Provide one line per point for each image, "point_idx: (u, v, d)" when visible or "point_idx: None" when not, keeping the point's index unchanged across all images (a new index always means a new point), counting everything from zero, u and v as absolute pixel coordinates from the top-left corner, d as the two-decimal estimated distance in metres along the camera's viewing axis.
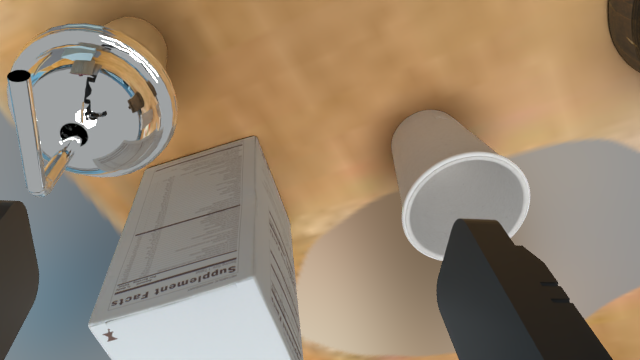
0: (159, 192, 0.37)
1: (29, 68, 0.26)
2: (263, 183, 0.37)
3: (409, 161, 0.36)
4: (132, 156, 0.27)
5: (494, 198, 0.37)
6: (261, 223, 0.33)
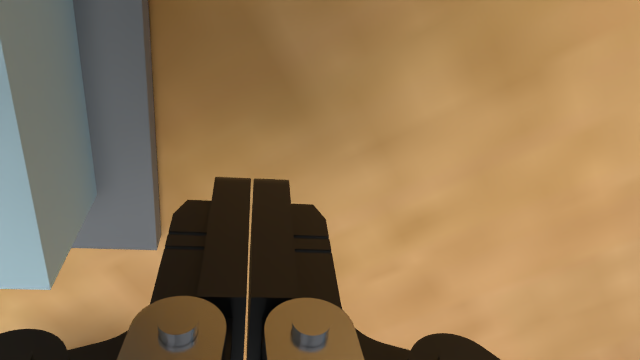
0: None
1: None
2: None
3: None
4: None
5: None
6: None
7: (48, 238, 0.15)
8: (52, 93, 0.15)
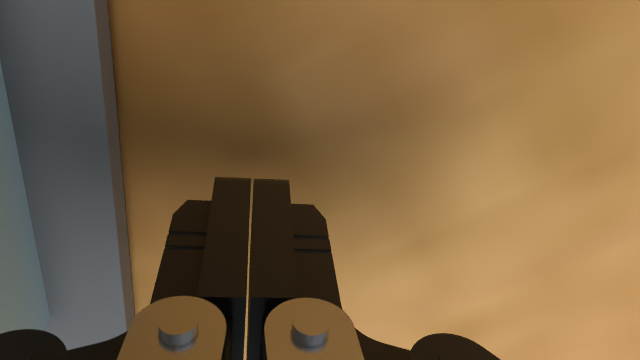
0: None
1: None
2: None
3: None
4: None
5: None
6: None
7: None
8: None
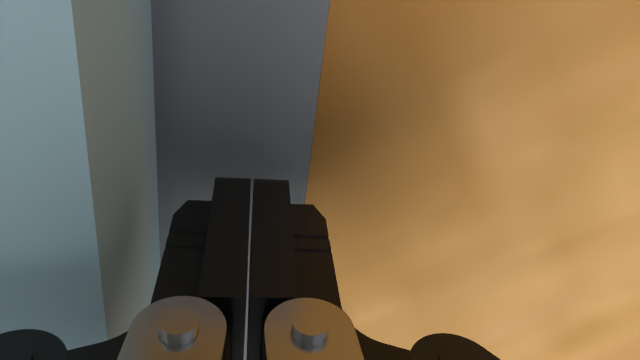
0: None
1: None
2: None
3: None
4: None
5: None
6: None
7: None
8: (134, 221, 0.10)
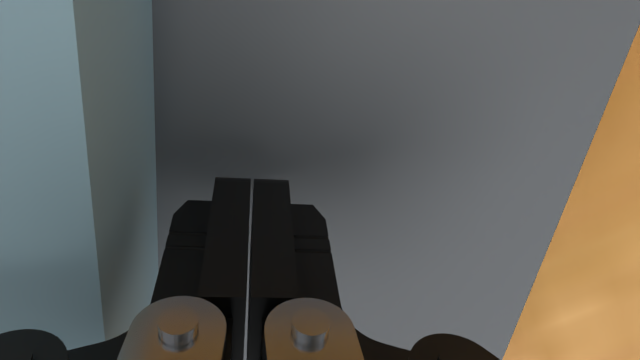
0: None
1: None
2: None
3: None
4: None
5: None
6: None
7: None
8: (133, 223, 0.10)
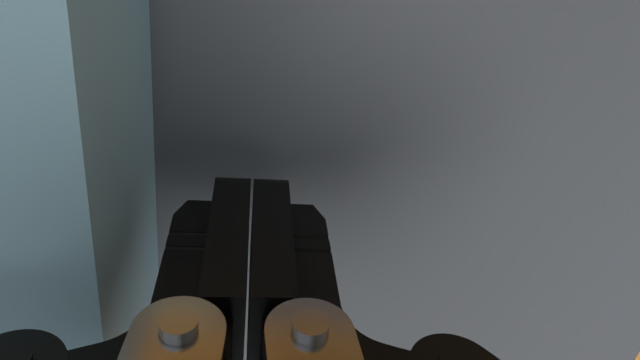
0: None
1: None
2: None
3: None
4: None
5: None
6: None
7: None
8: (131, 220, 0.10)
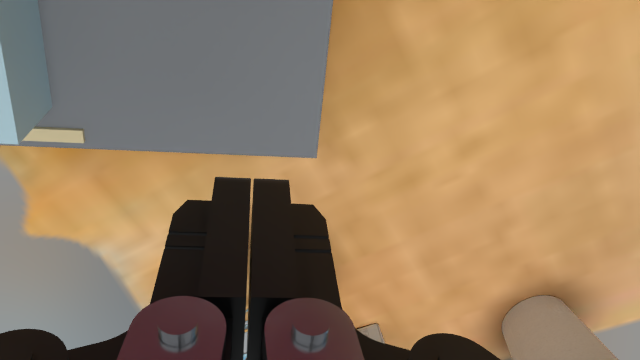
0: None
1: None
2: None
3: None
4: None
5: None
6: None
7: (17, 113, 0.26)
8: (20, 31, 0.26)
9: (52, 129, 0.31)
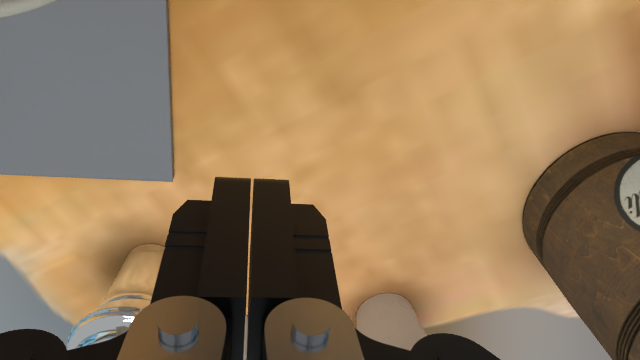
0: None
1: (84, 343, 0.36)
2: None
3: None
4: None
5: None
6: None
7: None
8: None
9: None
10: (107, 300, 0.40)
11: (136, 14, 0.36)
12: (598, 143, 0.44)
